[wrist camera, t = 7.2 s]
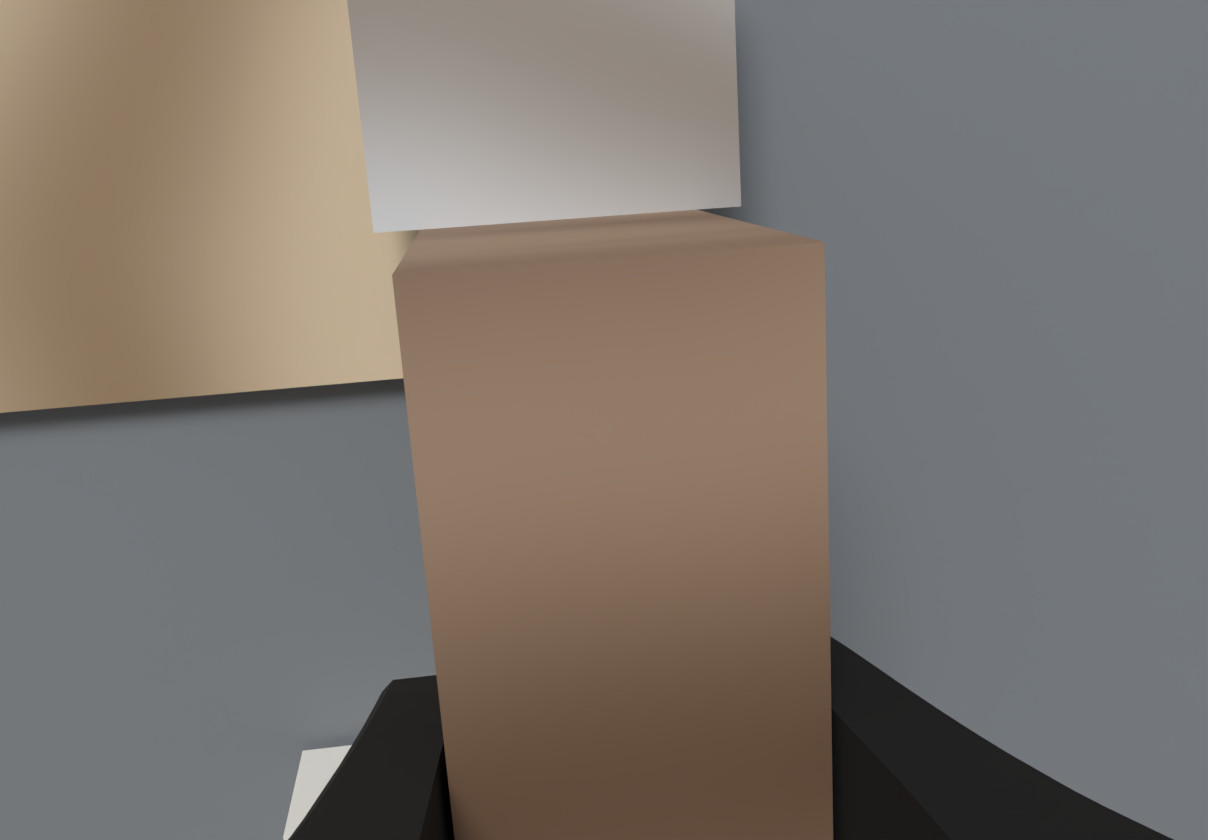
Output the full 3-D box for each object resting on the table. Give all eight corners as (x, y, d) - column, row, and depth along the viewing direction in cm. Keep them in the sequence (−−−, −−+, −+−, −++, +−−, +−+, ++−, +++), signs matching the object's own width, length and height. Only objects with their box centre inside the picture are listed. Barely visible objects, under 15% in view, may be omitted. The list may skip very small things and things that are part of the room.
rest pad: (569, -123, 12) (574, -128, 12) (597, 353, 14) (601, 360, 14) (-382, -83, 11) (-409, -88, 11) (-221, 423, 13) (-241, 433, 13)
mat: (1559, -174, 14) (1604, -182, 14) (1342, 881, 20) (1368, 906, 19) (-446, -93, 12) (-492, -99, 11) (-55, 1081, 17) (-73, 1115, 17)
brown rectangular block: (754, 884, 15) (892, 1238, 10) (455, 924, 14) (448, 1313, 10) (720, -79, 12) (893, -238, 7) (343, -61, 11) (252, -218, 7)
